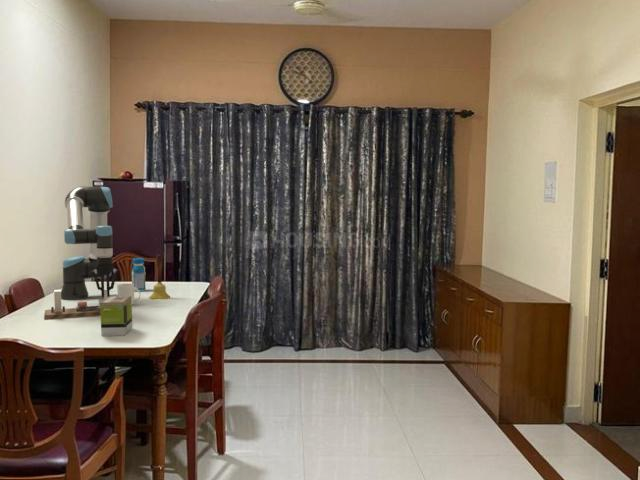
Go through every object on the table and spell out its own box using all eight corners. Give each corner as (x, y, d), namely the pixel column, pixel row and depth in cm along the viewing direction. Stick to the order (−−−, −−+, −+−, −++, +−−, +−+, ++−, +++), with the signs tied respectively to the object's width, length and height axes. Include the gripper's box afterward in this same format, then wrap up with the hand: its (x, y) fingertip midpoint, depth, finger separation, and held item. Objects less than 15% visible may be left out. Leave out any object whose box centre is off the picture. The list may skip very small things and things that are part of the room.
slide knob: (97, 309, 298) (97, 300, 297) (97, 308, 301) (97, 298, 301) (106, 309, 299) (105, 299, 299) (105, 307, 303) (105, 298, 302)
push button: (77, 306, 294) (77, 303, 293) (77, 305, 298) (77, 301, 298) (87, 306, 295) (87, 302, 295) (86, 304, 299) (86, 301, 299)
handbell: (173, 296, 352) (173, 253, 350) (166, 299, 339) (165, 256, 338) (153, 295, 353) (153, 253, 351) (145, 299, 341) (144, 255, 339)
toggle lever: (54, 310, 291) (54, 291, 286) (54, 309, 292) (54, 290, 287) (61, 310, 292) (60, 291, 288) (61, 308, 293) (60, 289, 289)
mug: (138, 305, 321) (138, 286, 320) (115, 305, 320) (115, 286, 319) (142, 302, 329) (141, 283, 328) (119, 303, 328) (119, 283, 327)
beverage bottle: (138, 292, 365) (137, 259, 364) (128, 290, 369) (128, 258, 368) (148, 290, 372) (148, 258, 371) (139, 289, 377) (139, 257, 375)
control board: (44, 319, 284) (44, 310, 283) (45, 313, 297) (45, 305, 296) (123, 314, 298) (123, 305, 297) (121, 309, 311) (121, 300, 310)
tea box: (109, 328, 266) (109, 295, 265) (133, 328, 267) (132, 295, 266) (100, 336, 251) (99, 301, 250) (124, 336, 252) (124, 301, 251)
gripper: (91, 257, 293) (92, 305, 295) (119, 256, 298) (119, 303, 300) (90, 256, 300) (91, 302, 302) (117, 255, 305) (118, 301, 307)
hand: (105, 303), depth 301 cm, fingers closed
